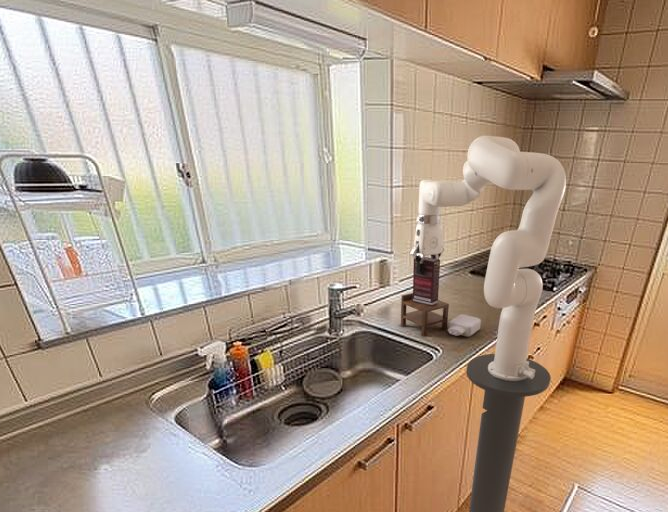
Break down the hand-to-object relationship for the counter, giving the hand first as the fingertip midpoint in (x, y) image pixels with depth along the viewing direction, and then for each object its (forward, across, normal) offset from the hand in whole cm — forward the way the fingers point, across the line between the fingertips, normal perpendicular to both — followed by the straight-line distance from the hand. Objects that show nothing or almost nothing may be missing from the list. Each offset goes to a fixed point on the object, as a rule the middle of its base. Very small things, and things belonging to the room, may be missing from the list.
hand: (426, 272), depth 150 cm
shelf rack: (+21, 0, 0) cm, 21 cm away
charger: (+21, +7, -12) cm, 26 cm away
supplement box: (+11, 0, 0) cm, 11 cm away
